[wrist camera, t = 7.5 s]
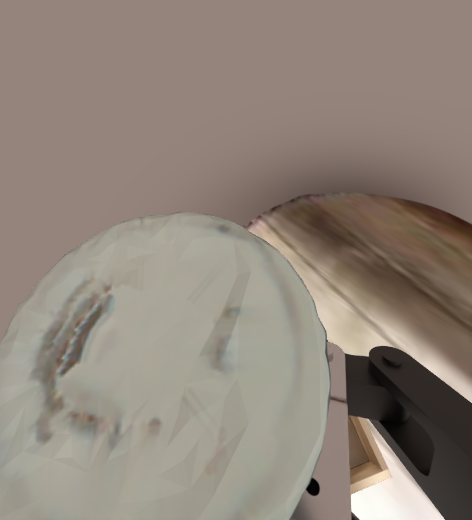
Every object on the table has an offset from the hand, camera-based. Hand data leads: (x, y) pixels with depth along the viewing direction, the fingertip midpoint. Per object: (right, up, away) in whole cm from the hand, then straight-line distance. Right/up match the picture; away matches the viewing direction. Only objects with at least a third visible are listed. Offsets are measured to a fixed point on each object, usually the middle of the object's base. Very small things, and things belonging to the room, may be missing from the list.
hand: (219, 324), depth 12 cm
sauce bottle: (+1, -6, +9) cm, 11 cm away
